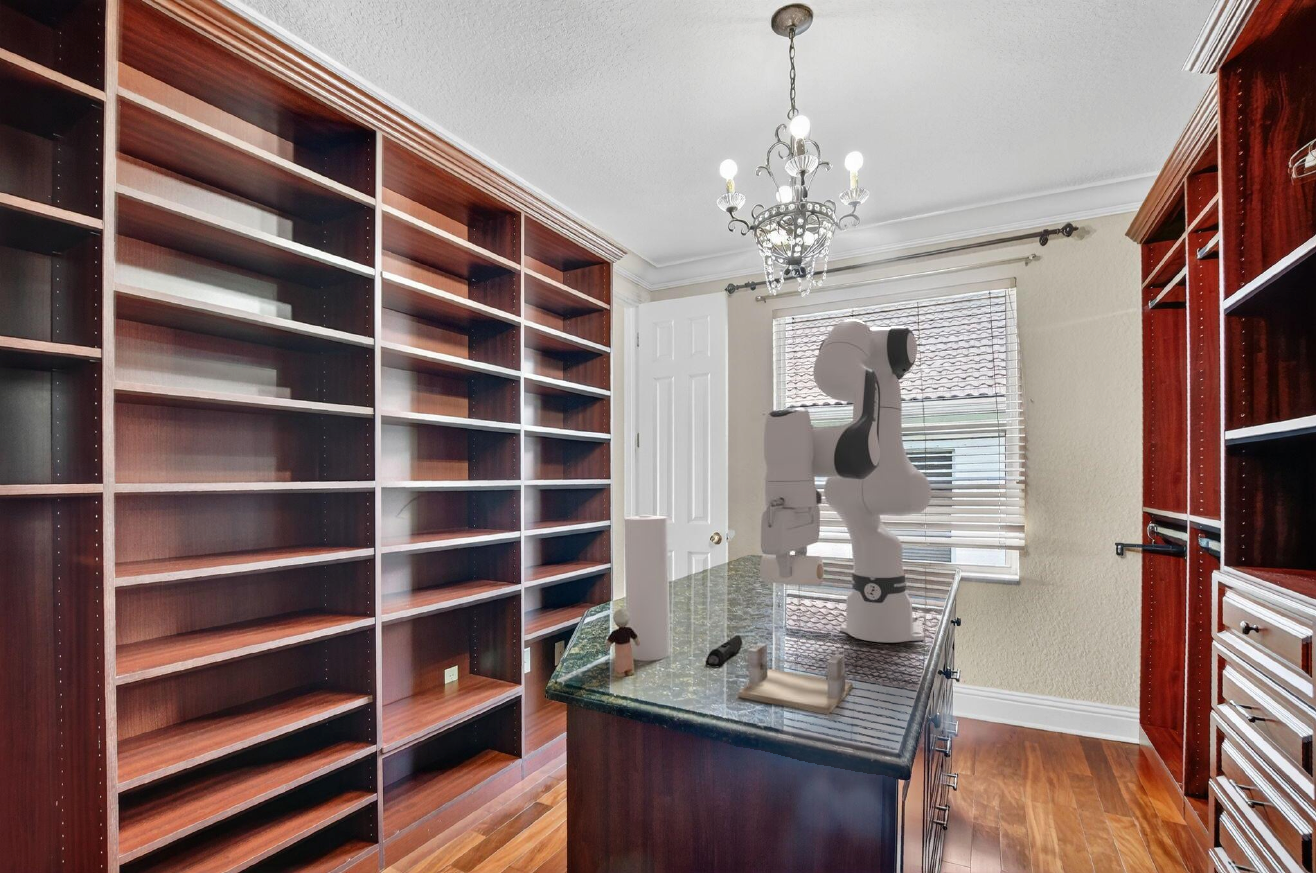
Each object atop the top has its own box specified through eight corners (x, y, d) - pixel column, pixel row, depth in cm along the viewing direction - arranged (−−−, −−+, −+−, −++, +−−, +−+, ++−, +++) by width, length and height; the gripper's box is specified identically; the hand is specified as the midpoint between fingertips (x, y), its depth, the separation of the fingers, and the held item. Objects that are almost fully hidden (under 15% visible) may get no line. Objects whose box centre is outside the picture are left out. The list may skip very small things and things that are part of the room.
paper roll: (762, 587, 116) (756, 565, 114) (771, 569, 119) (765, 547, 117) (819, 593, 110) (813, 569, 108) (827, 573, 114) (821, 550, 112)
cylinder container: (619, 658, 135) (617, 516, 137) (637, 646, 144) (635, 513, 145) (660, 662, 132) (657, 517, 133) (676, 649, 140) (673, 513, 142)
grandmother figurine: (630, 667, 128) (629, 604, 129) (643, 671, 126) (641, 607, 126) (600, 677, 123) (599, 611, 124) (613, 681, 120) (612, 614, 121)
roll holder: (769, 673, 123) (768, 637, 123) (852, 687, 114) (851, 648, 115) (738, 696, 111) (737, 656, 111) (828, 714, 102) (827, 670, 103)
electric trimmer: (747, 649, 141) (746, 635, 141) (721, 668, 127) (721, 652, 128) (731, 647, 143) (730, 633, 143) (704, 666, 129) (703, 650, 129)
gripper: (785, 500, 104) (788, 585, 103) (824, 494, 121) (827, 567, 120) (750, 500, 107) (752, 582, 106) (793, 494, 124) (795, 565, 124)
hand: (792, 574), depth 114 cm, fingers closed on paper roll, 5 cm apart
